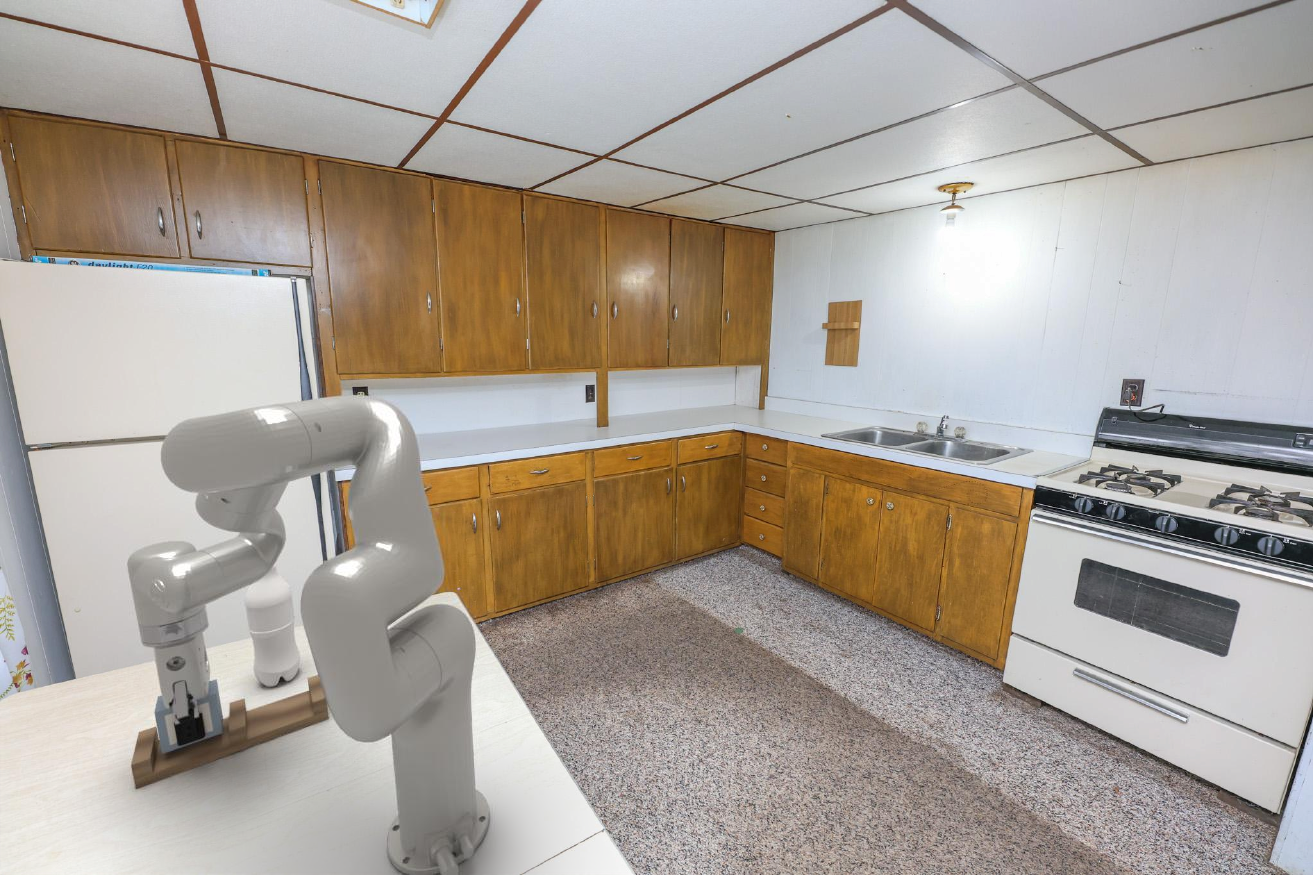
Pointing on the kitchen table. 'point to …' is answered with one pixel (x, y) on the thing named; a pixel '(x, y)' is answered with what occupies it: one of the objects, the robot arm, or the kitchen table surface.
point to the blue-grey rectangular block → (207, 707)
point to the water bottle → (272, 629)
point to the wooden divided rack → (229, 734)
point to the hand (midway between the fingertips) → (192, 729)
